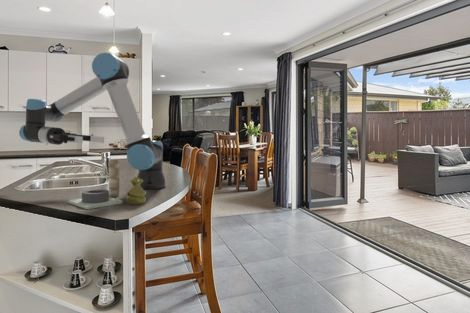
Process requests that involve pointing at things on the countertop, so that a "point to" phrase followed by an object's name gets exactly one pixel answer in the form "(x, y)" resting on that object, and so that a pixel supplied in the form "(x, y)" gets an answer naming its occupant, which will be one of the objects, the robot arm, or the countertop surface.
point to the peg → (113, 177)
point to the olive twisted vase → (136, 192)
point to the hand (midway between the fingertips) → (93, 139)
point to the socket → (95, 199)
